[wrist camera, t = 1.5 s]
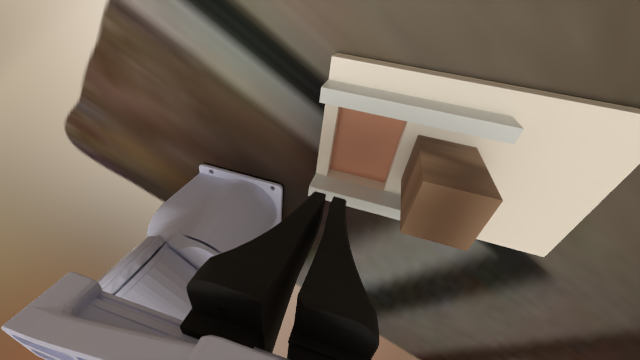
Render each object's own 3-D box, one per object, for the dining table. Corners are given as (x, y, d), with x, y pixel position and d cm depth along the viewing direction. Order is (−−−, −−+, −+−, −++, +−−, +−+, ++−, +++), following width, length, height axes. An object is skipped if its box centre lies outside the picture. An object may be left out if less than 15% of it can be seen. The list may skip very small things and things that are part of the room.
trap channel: (317, 185, 25) (306, 208, 23) (336, 52, 18) (324, 61, 15) (536, 243, 22) (555, 277, 20) (660, 112, 15) (717, 137, 13)
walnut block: (401, 179, 21) (399, 232, 16) (418, 134, 18) (423, 181, 14) (452, 192, 20) (466, 250, 15) (476, 147, 18) (503, 200, 13)
